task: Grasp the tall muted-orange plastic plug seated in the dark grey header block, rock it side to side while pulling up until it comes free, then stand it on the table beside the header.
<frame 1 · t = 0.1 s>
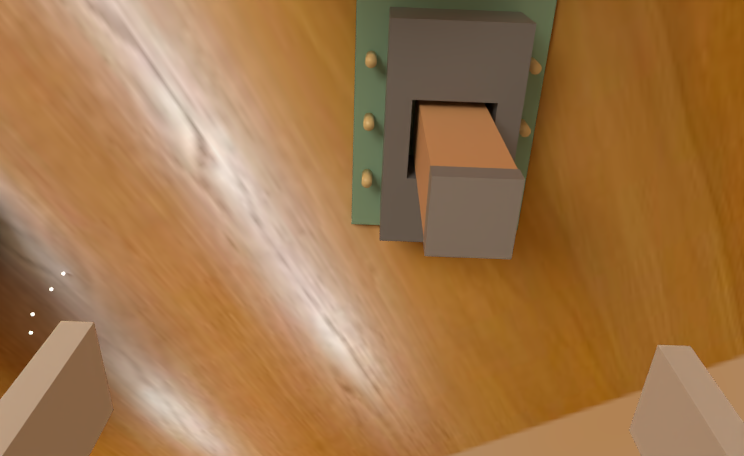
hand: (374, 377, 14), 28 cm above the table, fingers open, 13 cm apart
header: (444, 118, 40), on the table
plug: (444, 120, 40), resting on header
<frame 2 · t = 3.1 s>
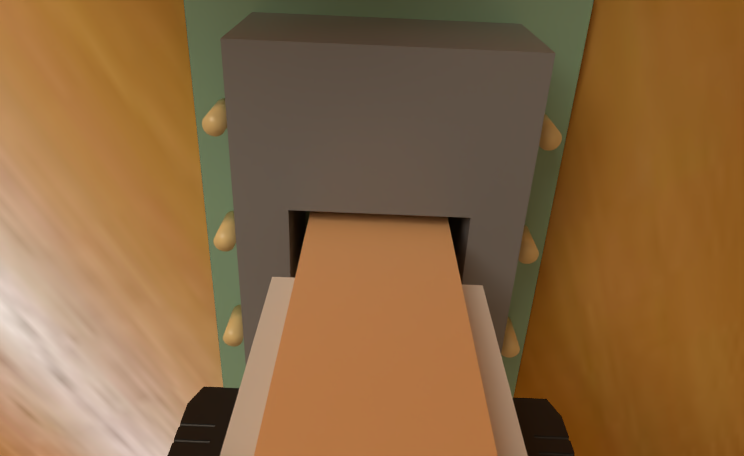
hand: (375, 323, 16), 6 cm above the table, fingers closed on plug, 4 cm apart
header: (376, 219, 22), on the table
plug: (376, 225, 21), point 1 cm above the table, touching gripper
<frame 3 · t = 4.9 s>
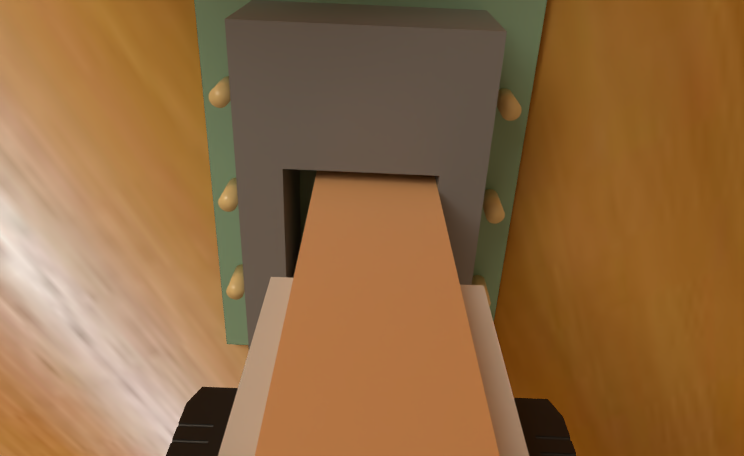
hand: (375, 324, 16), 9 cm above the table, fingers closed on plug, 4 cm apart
header: (363, 186, 24), on the table
plug: (373, 223, 21), point 3 cm above the table, touching gripper
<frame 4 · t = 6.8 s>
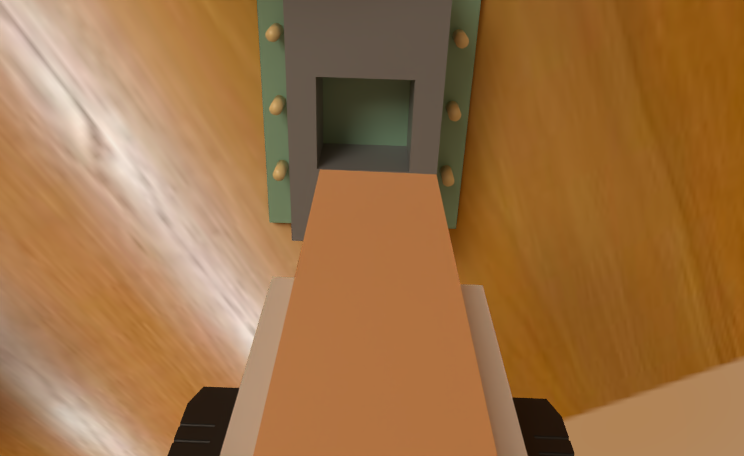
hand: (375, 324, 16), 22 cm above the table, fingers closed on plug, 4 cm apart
header: (366, 101, 35), on the table
plug: (375, 223, 22), point 16 cm above the table, touching gripper
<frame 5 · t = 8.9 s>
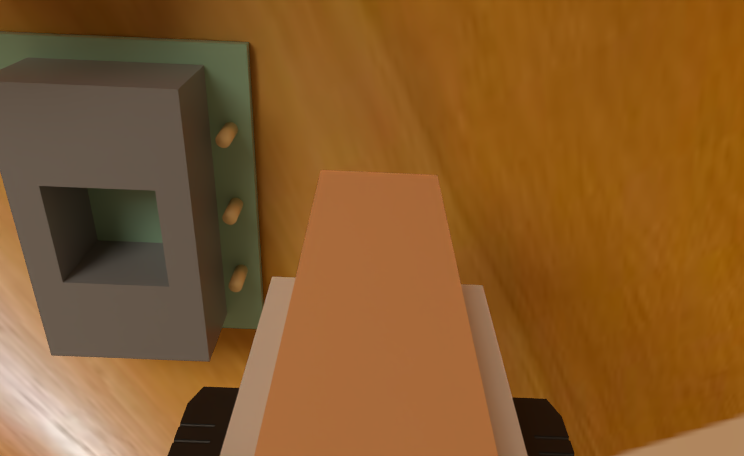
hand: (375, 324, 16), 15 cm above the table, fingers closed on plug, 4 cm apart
header: (141, 195, 31), on the table
plug: (376, 224, 22), point 9 cm above the table, touching gripper
when the fingers open (7 cm above the table, at t = 10.6 s): plug stays where it is, on the table.
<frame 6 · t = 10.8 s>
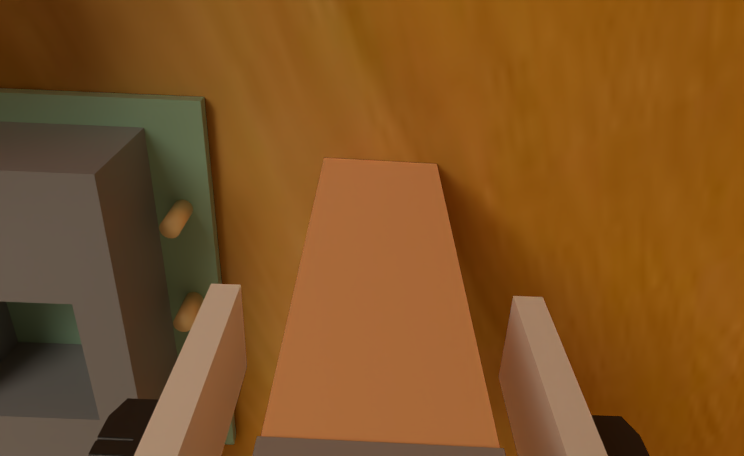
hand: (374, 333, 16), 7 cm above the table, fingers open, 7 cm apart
header: (72, 287, 24), on the table
plug: (377, 211, 22), on the table
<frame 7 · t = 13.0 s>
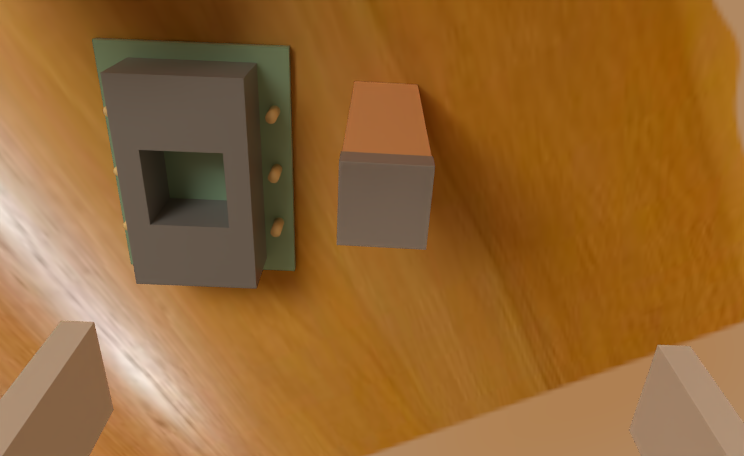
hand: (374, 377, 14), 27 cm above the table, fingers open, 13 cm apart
header: (204, 163, 41), on the table
plug: (384, 113, 39), on the table
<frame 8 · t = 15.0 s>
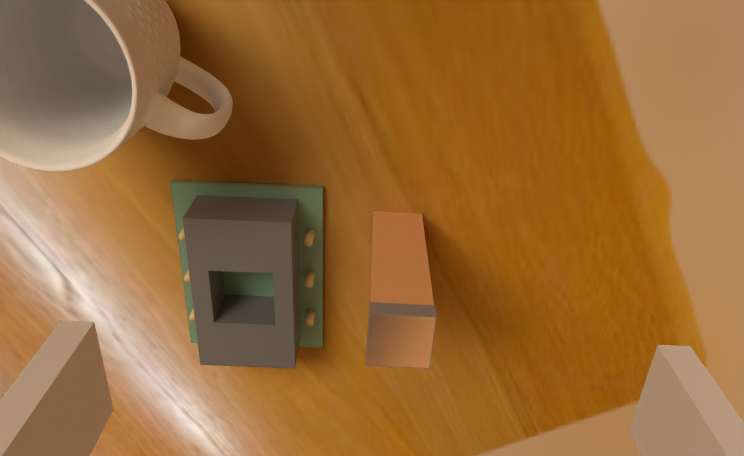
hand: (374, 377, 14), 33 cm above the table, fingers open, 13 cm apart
header: (253, 268, 52), on the table
plug: (395, 233, 50), on the table
mug: (141, 36, 43), on the table
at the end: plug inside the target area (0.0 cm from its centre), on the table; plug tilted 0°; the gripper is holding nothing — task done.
